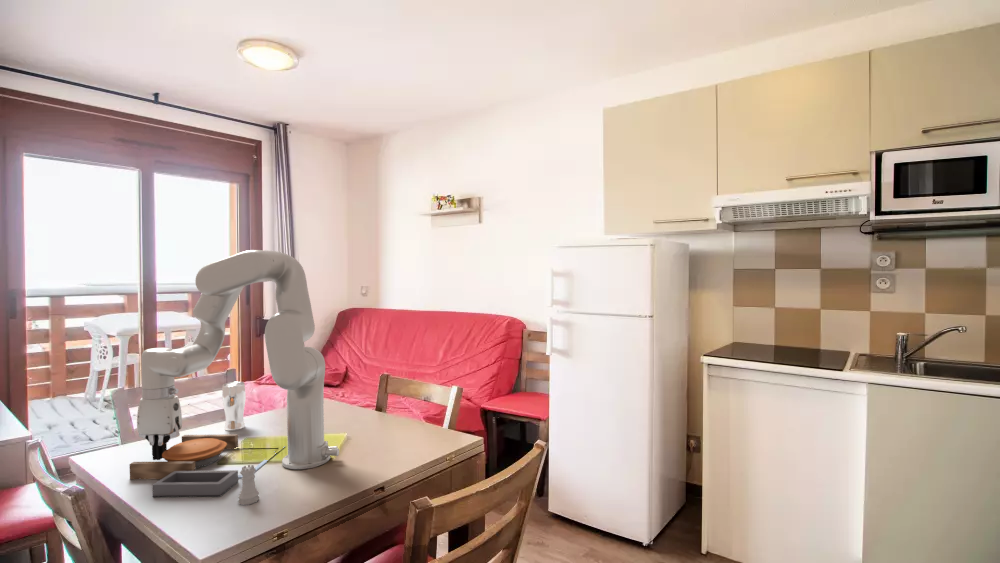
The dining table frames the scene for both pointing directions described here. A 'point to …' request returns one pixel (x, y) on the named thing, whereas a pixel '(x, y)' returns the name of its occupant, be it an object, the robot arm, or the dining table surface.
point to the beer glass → (234, 405)
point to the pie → (196, 451)
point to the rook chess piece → (248, 487)
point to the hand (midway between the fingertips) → (159, 458)
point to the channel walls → (165, 468)
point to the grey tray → (195, 484)
